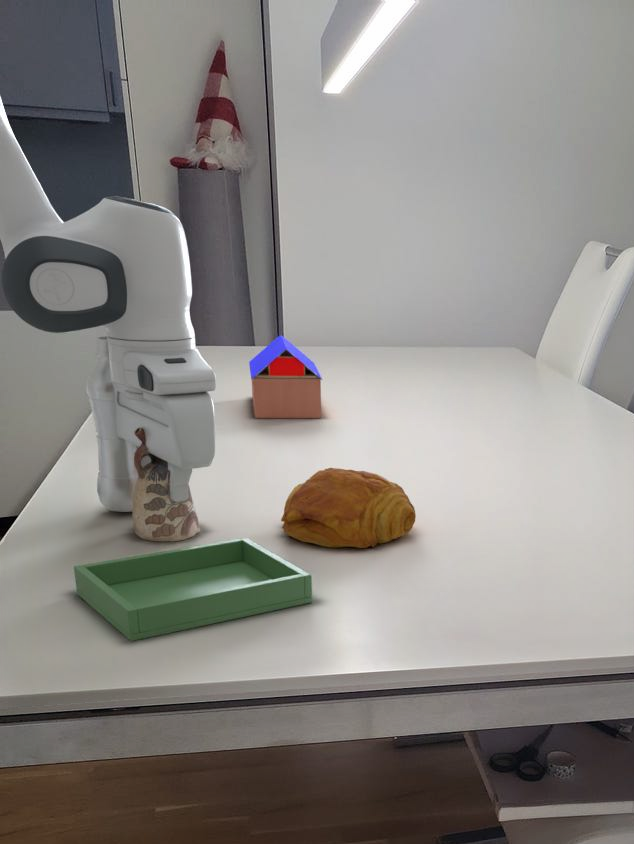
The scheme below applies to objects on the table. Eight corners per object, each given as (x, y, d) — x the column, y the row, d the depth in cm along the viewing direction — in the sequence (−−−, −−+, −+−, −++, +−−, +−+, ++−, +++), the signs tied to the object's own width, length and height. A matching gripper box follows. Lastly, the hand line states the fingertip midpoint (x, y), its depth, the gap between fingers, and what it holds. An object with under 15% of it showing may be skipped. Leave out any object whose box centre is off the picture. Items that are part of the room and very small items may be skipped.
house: (253, 418, 178) (250, 348, 173) (250, 397, 196) (247, 334, 191) (323, 418, 180) (322, 349, 176) (314, 398, 198) (313, 335, 194)
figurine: (207, 537, 115) (201, 430, 111) (143, 545, 112) (133, 434, 107) (189, 520, 121) (182, 417, 116) (127, 527, 117) (117, 421, 113)
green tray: (130, 641, 88) (127, 610, 87) (76, 594, 98) (73, 565, 97) (312, 602, 98) (311, 574, 97) (247, 563, 108) (245, 537, 107)
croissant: (331, 524, 129) (324, 460, 127) (436, 530, 121) (430, 461, 119) (252, 550, 117) (243, 479, 115) (362, 557, 109) (354, 482, 107)
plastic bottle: (169, 509, 125) (156, 338, 117) (123, 521, 119) (107, 343, 112) (132, 500, 128) (117, 332, 120) (87, 511, 123) (68, 337, 115)
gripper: (89, 353, 115) (102, 475, 120) (163, 380, 100) (173, 518, 106) (144, 350, 118) (154, 468, 124) (223, 376, 104) (230, 509, 109)
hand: (163, 491), depth 115 cm, fingers closed on figurine, 6 cm apart
